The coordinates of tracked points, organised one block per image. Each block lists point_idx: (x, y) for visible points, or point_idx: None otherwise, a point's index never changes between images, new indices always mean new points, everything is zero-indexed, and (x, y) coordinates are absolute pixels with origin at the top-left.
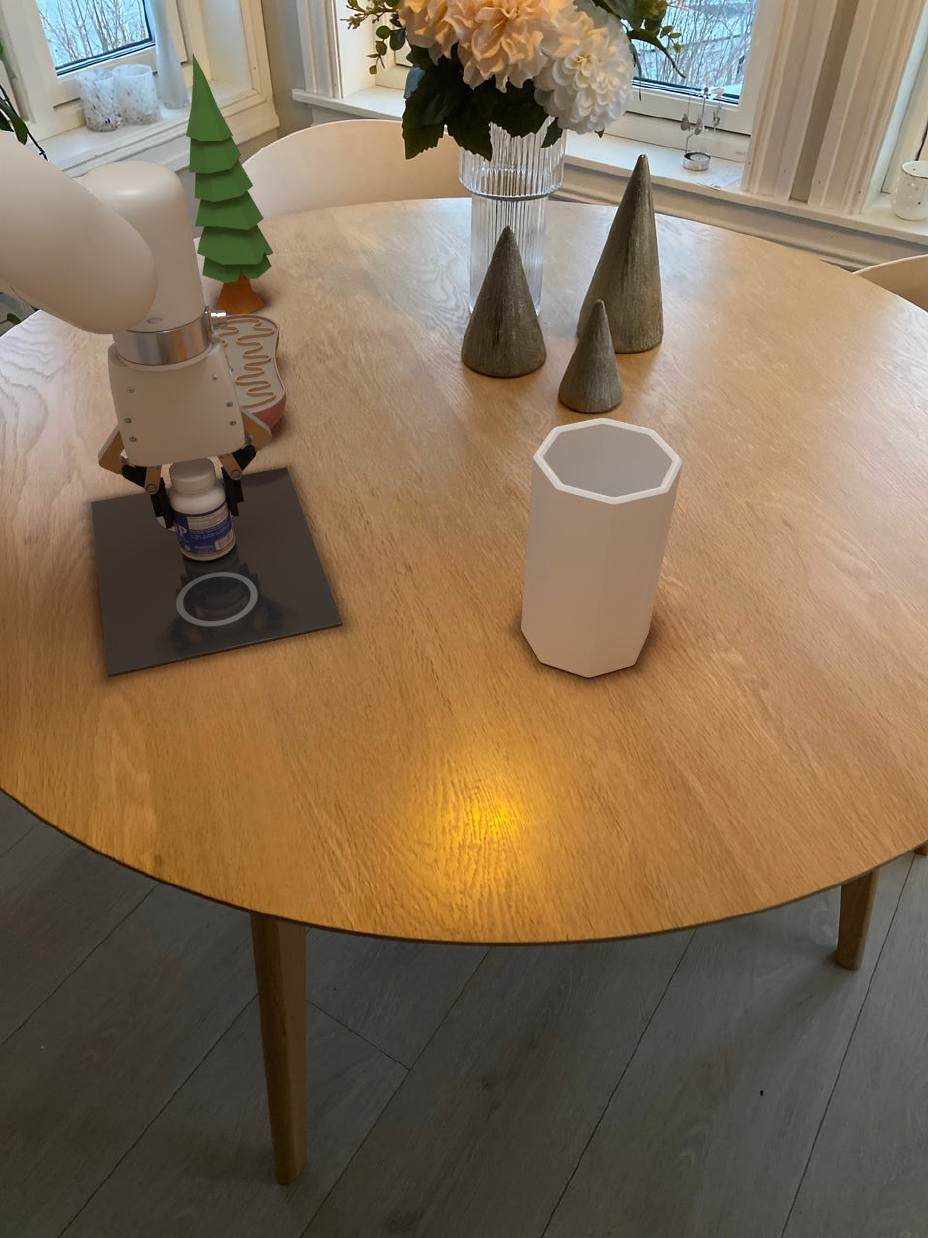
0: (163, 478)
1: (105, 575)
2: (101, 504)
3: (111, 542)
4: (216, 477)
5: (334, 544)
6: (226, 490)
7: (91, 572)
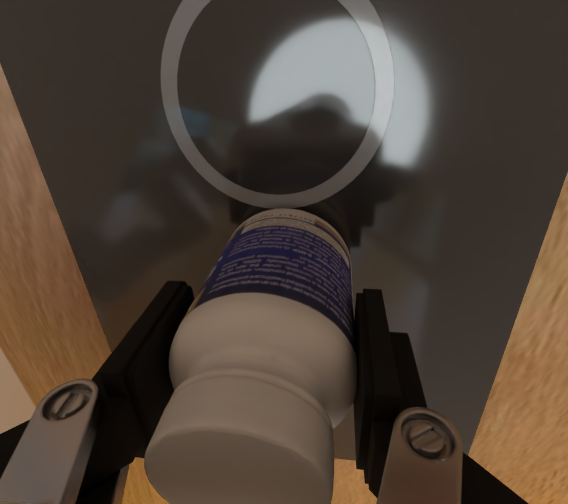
0: (138, 363)
1: (93, 274)
2: None
3: (77, 178)
4: (337, 358)
5: (558, 321)
6: (355, 441)
7: (65, 247)
